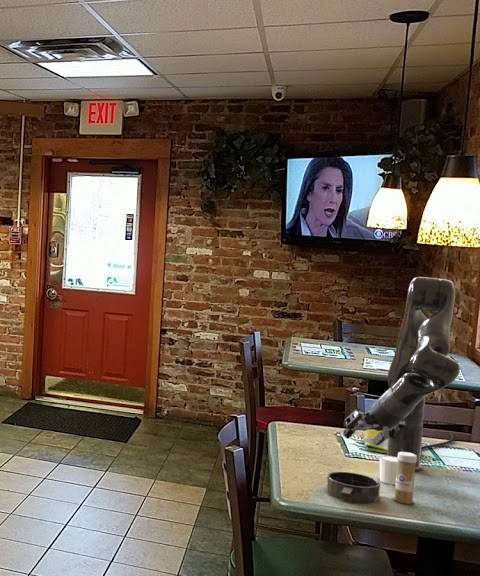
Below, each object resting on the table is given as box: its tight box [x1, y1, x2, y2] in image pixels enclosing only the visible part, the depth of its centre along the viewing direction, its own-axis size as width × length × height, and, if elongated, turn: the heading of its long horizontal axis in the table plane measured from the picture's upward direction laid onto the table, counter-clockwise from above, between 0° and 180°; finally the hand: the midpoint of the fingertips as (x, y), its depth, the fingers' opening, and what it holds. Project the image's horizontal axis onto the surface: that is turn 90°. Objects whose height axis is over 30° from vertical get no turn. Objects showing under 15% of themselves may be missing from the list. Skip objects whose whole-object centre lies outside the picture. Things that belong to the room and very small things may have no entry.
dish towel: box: [363, 429, 388, 454], centre depth 267 cm, size 18×24×3 cm
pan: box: [325, 471, 381, 504], centre depth 216 cm, size 13×13×4 cm
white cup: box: [379, 455, 398, 486], centre depth 229 cm, size 7×7×7 cm
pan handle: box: [340, 487, 354, 504], centre depth 208 cm, size 6×2×4 cm, turn 144°
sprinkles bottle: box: [393, 452, 417, 505], centre depth 212 cm, size 5×5×14 cm
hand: (360, 439), depth 212 cm, fingers open, 8 cm apart
